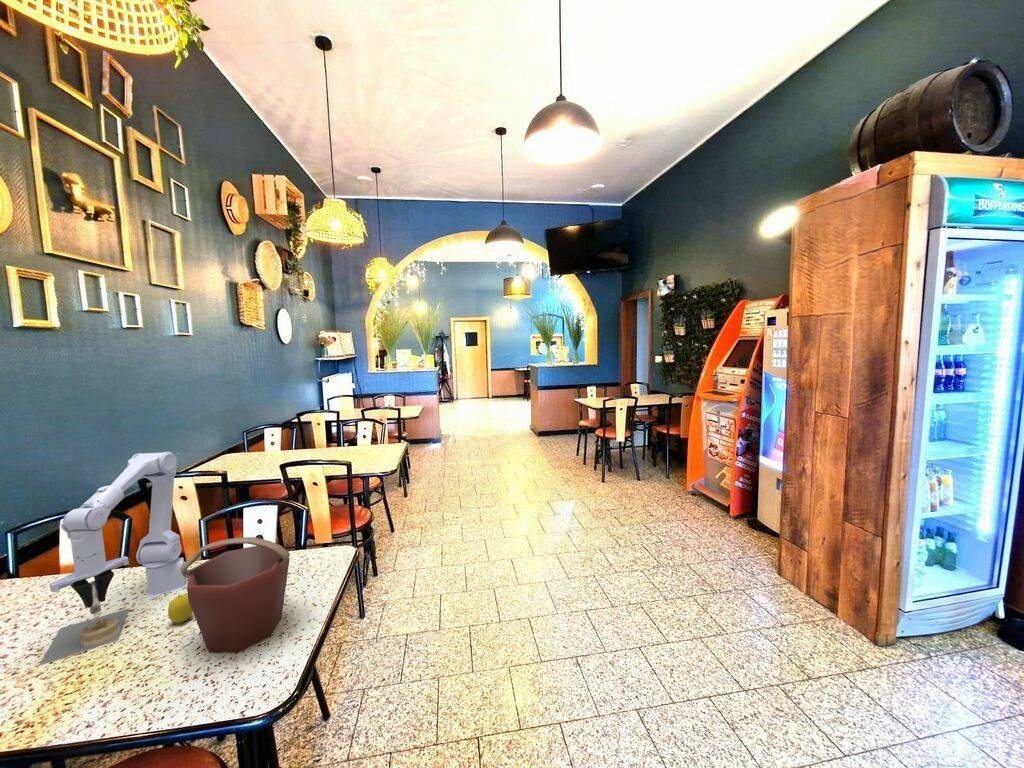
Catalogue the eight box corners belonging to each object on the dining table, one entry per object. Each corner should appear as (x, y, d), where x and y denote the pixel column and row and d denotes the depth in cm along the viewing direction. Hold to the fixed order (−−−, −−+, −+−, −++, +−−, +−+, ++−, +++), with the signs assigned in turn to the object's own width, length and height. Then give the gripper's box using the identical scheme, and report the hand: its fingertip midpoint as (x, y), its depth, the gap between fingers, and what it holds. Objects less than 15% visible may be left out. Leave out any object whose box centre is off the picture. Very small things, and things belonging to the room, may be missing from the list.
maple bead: (121, 624, 113) (120, 614, 113) (116, 638, 107) (115, 627, 107) (85, 635, 109) (84, 625, 109) (78, 650, 103) (76, 639, 103)
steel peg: (99, 608, 109) (95, 579, 108) (102, 610, 108) (99, 581, 108) (89, 613, 107) (85, 583, 107) (92, 614, 106) (88, 585, 106)
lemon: (199, 619, 115) (196, 591, 115) (176, 631, 110) (173, 603, 110) (187, 614, 118) (185, 587, 117) (165, 626, 112) (162, 598, 112)
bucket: (164, 661, 99) (154, 561, 97) (231, 604, 121) (223, 523, 119) (263, 661, 98) (254, 560, 96) (311, 604, 120) (305, 521, 118)
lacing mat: (129, 610, 120) (129, 608, 120) (118, 642, 107) (118, 640, 107) (60, 630, 112) (60, 628, 112) (39, 667, 99) (38, 665, 99)
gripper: (117, 538, 115) (122, 585, 116) (41, 564, 101) (48, 616, 103) (130, 543, 112) (135, 590, 113) (54, 569, 99) (61, 623, 100)
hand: (95, 603), depth 107 cm, fingers closed on steel peg, 2 cm apart
